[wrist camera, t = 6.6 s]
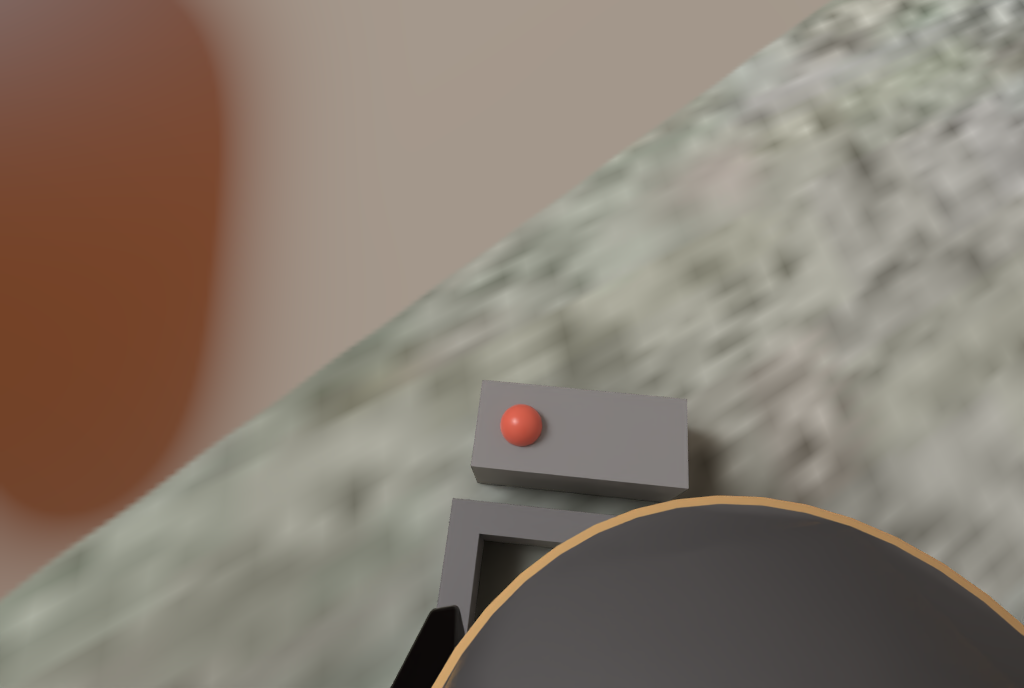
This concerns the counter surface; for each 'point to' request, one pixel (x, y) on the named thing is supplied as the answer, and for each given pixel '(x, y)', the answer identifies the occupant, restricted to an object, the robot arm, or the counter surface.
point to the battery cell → (738, 608)
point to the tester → (559, 468)
